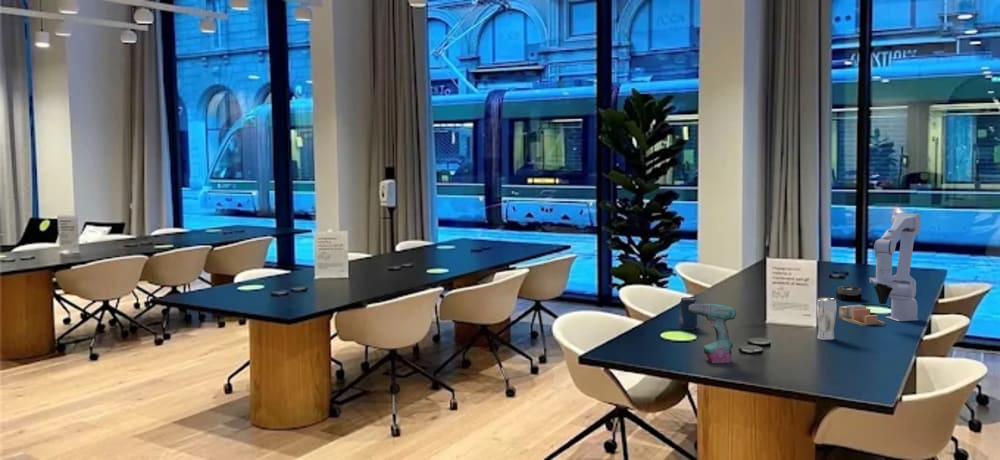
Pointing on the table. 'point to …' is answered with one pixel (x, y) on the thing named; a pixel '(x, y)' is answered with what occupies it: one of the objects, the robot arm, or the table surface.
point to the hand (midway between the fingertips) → (882, 303)
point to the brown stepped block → (864, 316)
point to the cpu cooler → (849, 293)
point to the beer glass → (826, 318)
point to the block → (850, 307)
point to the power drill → (717, 330)
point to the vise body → (844, 317)
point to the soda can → (687, 313)
